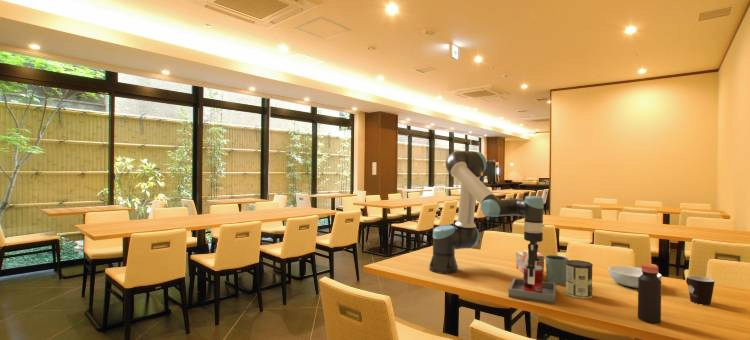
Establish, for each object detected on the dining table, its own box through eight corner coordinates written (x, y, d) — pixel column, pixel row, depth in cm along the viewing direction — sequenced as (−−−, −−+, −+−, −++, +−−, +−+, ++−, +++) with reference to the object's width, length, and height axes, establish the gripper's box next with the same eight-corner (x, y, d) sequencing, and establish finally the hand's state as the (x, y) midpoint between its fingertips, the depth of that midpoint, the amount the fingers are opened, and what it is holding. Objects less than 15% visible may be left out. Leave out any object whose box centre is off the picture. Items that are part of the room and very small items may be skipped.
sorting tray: (508, 296, 158) (508, 288, 158) (513, 285, 174) (513, 277, 174) (555, 304, 150) (555, 295, 150) (555, 291, 166) (556, 283, 166)
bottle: (641, 322, 133) (641, 267, 133) (635, 315, 140) (636, 262, 140) (663, 325, 131) (664, 269, 131) (656, 318, 137) (657, 264, 137)
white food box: (515, 268, 205) (516, 246, 205) (527, 268, 205) (527, 246, 205) (531, 280, 184) (531, 255, 184) (544, 280, 183) (544, 255, 183)
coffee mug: (716, 308, 148) (717, 283, 148) (688, 303, 152) (689, 279, 152) (709, 299, 158) (710, 276, 158) (683, 295, 162) (684, 272, 162)
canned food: (543, 290, 164) (543, 266, 164) (540, 296, 157) (541, 270, 157) (525, 287, 168) (525, 263, 168) (521, 292, 161) (522, 267, 161)
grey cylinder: (542, 281, 180) (542, 257, 180) (548, 277, 188) (549, 253, 188) (564, 286, 173) (565, 261, 173) (570, 281, 181) (570, 257, 181)
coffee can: (580, 290, 168) (581, 259, 168) (598, 298, 158) (598, 265, 158) (560, 291, 166) (560, 260, 166) (576, 299, 156) (576, 266, 156)
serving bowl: (663, 285, 177) (664, 271, 177) (658, 296, 161) (658, 280, 161) (613, 276, 191) (613, 263, 191) (603, 285, 176) (603, 271, 176)
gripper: (541, 237, 149) (540, 289, 150) (544, 228, 172) (543, 273, 172) (521, 235, 153) (520, 286, 153) (526, 226, 175) (525, 271, 175)
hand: (532, 279), depth 163 cm, fingers open, 13 cm apart
